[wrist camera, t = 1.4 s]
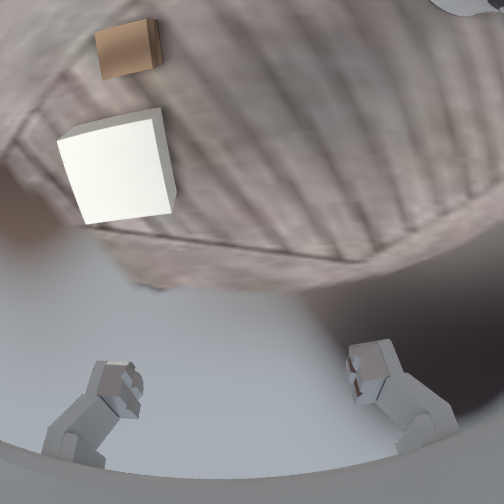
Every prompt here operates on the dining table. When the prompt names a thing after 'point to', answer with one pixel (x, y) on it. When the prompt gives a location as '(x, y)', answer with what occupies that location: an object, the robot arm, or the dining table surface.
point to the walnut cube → (129, 48)
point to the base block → (120, 167)
